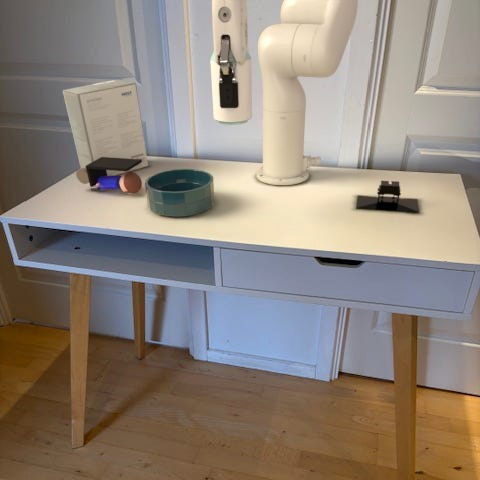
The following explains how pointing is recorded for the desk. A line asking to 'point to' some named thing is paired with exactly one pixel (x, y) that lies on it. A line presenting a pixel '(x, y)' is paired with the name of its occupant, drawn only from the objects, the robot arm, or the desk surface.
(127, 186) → the figurine character
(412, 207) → the build plate
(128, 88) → the hard drive box
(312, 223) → the desk surface
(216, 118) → the can
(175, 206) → the bowl
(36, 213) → the desk surface
